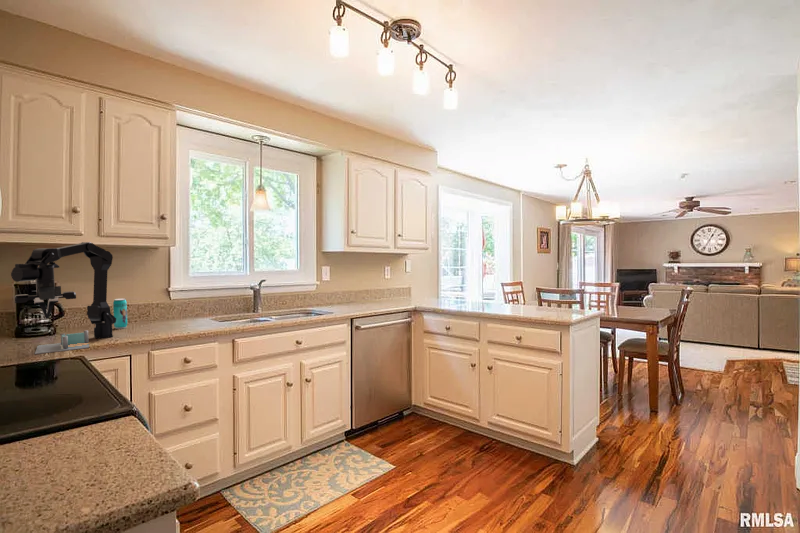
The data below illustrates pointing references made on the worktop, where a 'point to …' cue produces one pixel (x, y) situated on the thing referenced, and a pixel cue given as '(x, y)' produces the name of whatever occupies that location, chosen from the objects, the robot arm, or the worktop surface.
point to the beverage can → (120, 313)
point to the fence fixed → (78, 338)
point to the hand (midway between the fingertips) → (47, 318)
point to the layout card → (56, 348)
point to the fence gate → (64, 340)
